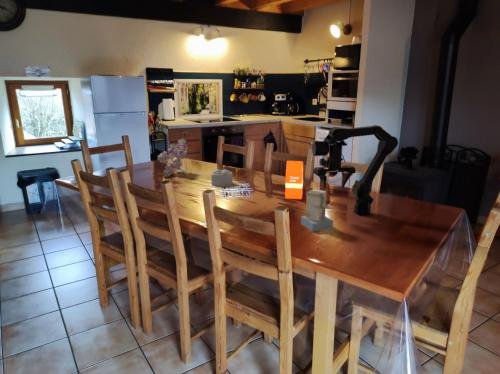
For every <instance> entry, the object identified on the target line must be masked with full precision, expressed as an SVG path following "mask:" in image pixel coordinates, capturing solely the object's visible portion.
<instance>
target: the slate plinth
mask: <svg viewBox="0 0 500 374" xmlns="http://www.w3.org/2000/svg"><path fill="white" fill-rule="evenodd" d="M300 224H301V225H302V226H303V227H305V228H306V229H308V230H309V231H311V232H312V233H314V232H320V231H326V230H331V229H332V230H333V228H334V220H332V218H329V217H327V216H326V215H325V218H324V219H322V220H320V221H319V222H318V221H313V220H309V219H306V214H305V215H301V216H300Z"/></svg>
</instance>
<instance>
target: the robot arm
mask: <svg viewBox="0 0 500 374" xmlns="http://www.w3.org/2000/svg"><path fill="white" fill-rule="evenodd" d="M365 136H367V137H368V136H375V138H376V140H378V144H377V148H376V149H377V151H376V153H375V154H374V157H373V158H372V159H371V161H370V164H369V165H368V167H367V169H366V171H365V173H364V174H363V176H362V177H361V179H359V180H357V179H356V180H355V181H354V183H353V185H352V186H351V193H352V195H353V196H354V198H355V204H354V210H352V211H353V213H355V214H357V215H358V216H359V217H360V216H370V215H371V216H372V215H373V213H372V212H371V207H372V204H373V202H374V198H373V197H372V196H371V195H370V193H371V189H372V183H373V181H374V180H375V178H376V176H377V174H378V173H379V171H380V169H381V167H382V165H383V163H384V162H385V160H386V158H387V157H388V156H389V155H391V153H393V152H394V150H395V149H396V148H397V147H398V145H399V140H398V138H397V137H396V136H393V135H391V134H390V133H389V132H387V131H386V130H385V129H384V128H383V127H382V126H380V125H377V124H373V125H367V126H358V127H350V128H348V127H339V126H332V127H331V128H330V129H329V130H328V134H327V135H326V137H324V140H314V141H313V144H312V147H311V152H312V153H311V154H312V156H313V157H326V156H327V155H328V156H327V158H319V161H318V162H319V167H314V169H313V170H312V173H313V175H315V176H317V177H318V178H319V179H320V182H321V186H322V189H323V190H326V188H327V180H328V179H327V178H328V177H327V174H331V173H333V174H334V173H341V183H340V184H341V189H344V187H345V186H346V184H347V182H348V180H349V179H350V178H351V176H353V175H354V174H356V172H357V171H356V167H354V166H352V165H350V164H348V165H343V166H342V162H343V161H344V158H343V147H344V146H347V147H348V143H347V142H345V141H346V140H348V139H350V138H351V139H352V138H355V137H365Z"/></svg>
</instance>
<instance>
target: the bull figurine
mask: <svg viewBox="0 0 500 374" xmlns="http://www.w3.org/2000/svg"><path fill="white" fill-rule="evenodd" d="M313 189H314V188H313V187H311V186H306V188H305V197H306V198H307V192H308V191H311V190H313ZM316 190H318V189H316Z"/></svg>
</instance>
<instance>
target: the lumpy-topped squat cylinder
mask: <svg viewBox="0 0 500 374" xmlns="http://www.w3.org/2000/svg"><path fill="white" fill-rule="evenodd" d="M233 175H234V174H233V172H232V171H230V170H228V169H225V168H224V169H219V168H217V169H216V170H214V171H213V172H212V173H211V175H210V177H211V179H210V181H211V186H212V187H226V186H225V185H227V186H231V185H234V184H233V183H234V181H233Z"/></svg>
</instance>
